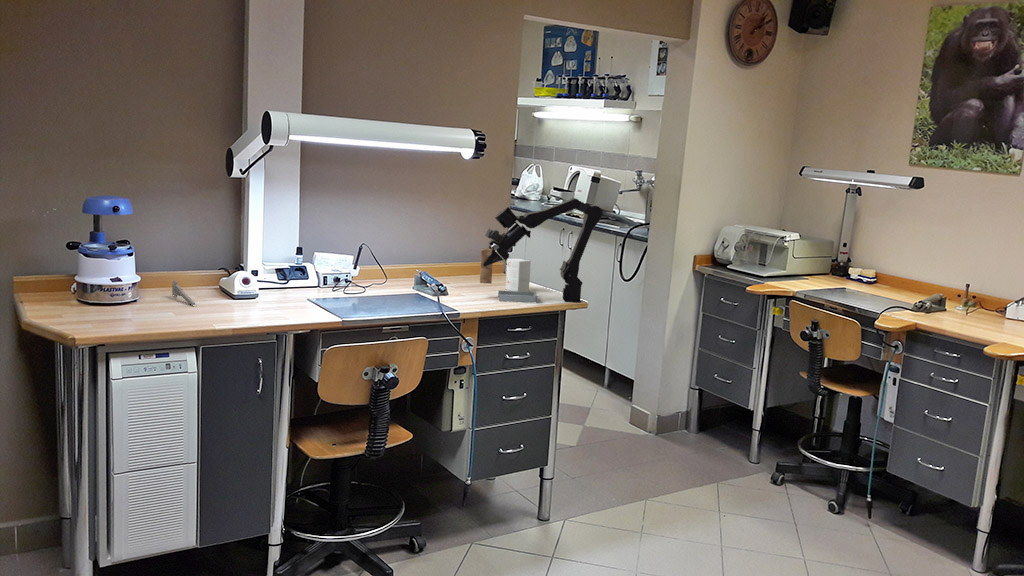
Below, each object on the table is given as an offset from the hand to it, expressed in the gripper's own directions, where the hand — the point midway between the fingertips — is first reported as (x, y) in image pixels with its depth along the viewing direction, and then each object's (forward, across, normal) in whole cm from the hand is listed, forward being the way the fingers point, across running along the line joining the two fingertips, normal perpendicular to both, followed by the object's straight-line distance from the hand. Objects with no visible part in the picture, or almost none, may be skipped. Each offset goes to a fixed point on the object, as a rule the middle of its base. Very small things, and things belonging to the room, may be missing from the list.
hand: (482, 264), depth 325 cm
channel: (0, +2, +20) cm, 20 cm away
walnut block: (+4, 0, +6) cm, 7 cm away
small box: (-3, -18, +22) cm, 29 cm away
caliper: (+85, +18, -66) cm, 110 cm away
